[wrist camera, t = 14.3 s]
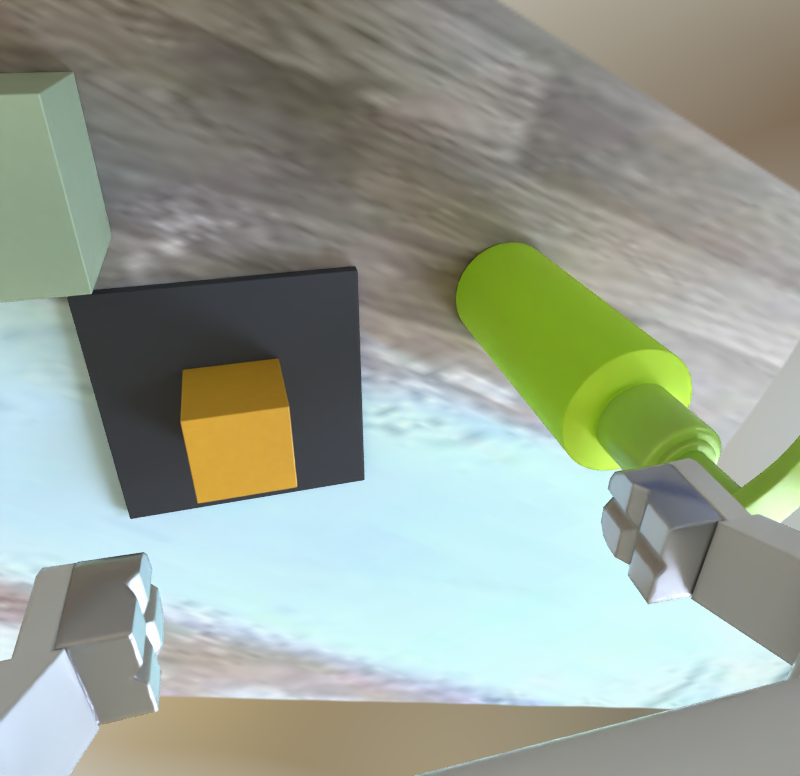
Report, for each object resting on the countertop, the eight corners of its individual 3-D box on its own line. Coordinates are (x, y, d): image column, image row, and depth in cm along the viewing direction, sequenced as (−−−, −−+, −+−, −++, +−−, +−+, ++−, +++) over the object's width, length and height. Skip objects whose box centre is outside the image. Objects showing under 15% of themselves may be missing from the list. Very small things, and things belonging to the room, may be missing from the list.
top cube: (278, 357, 35) (289, 406, 31) (286, 433, 38) (297, 487, 34) (182, 369, 34) (180, 421, 30) (197, 446, 37) (197, 504, 32)
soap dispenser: (582, 273, 38) (877, 489, 22) (496, 355, 39) (710, 616, 23) (526, 206, 35) (820, 397, 18) (434, 296, 36) (632, 550, 20)
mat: (355, 265, 34) (357, 269, 34) (362, 474, 41) (364, 480, 41) (68, 292, 31) (66, 297, 31) (131, 512, 38) (130, 519, 38)
